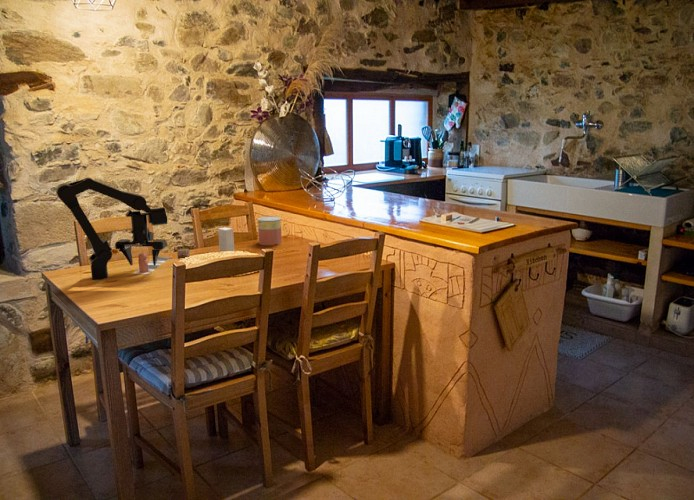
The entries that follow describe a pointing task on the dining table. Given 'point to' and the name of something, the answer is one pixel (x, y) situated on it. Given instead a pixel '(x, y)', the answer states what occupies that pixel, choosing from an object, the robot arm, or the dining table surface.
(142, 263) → the pink upright cylinder
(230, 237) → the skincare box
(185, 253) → the die
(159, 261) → the track board
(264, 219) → the canned food
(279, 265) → the dining table surface
